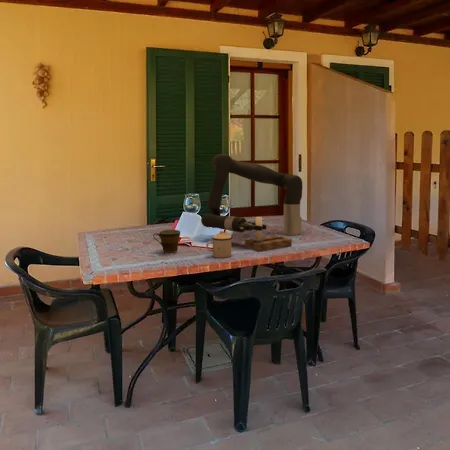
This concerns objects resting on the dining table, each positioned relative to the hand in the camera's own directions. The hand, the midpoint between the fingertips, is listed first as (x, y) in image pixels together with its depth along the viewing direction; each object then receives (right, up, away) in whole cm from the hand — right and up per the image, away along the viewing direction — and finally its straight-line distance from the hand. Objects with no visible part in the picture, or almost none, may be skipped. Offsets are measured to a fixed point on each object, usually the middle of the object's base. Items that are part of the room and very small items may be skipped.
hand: (263, 227), depth 225 cm
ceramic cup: (-47, -12, -2) cm, 48 cm away
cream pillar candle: (-2, -9, +3) cm, 10 cm away
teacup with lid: (-22, -13, -10) cm, 27 cm away
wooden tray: (+3, -9, +7) cm, 12 cm away
